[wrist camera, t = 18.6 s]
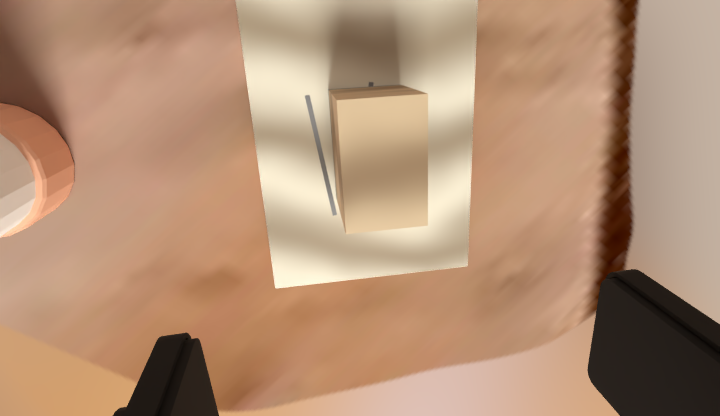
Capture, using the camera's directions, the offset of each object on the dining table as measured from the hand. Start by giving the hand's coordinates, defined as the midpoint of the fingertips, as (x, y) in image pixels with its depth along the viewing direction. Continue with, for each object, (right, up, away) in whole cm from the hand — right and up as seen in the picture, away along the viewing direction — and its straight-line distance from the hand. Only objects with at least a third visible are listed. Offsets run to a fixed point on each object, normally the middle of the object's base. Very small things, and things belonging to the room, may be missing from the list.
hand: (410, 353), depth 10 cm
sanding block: (-1, +7, +18) cm, 19 cm away
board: (-1, +8, +19) cm, 21 cm away
